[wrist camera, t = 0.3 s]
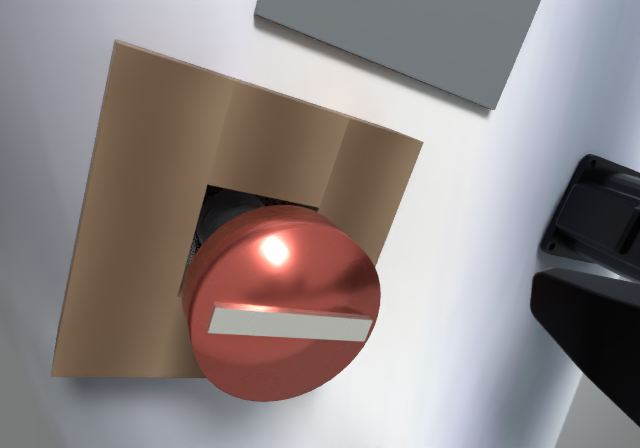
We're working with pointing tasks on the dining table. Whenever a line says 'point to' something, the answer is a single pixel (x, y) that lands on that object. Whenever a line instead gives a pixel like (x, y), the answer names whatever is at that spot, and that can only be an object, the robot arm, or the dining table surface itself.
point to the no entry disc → (275, 297)
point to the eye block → (201, 199)
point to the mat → (420, 37)
